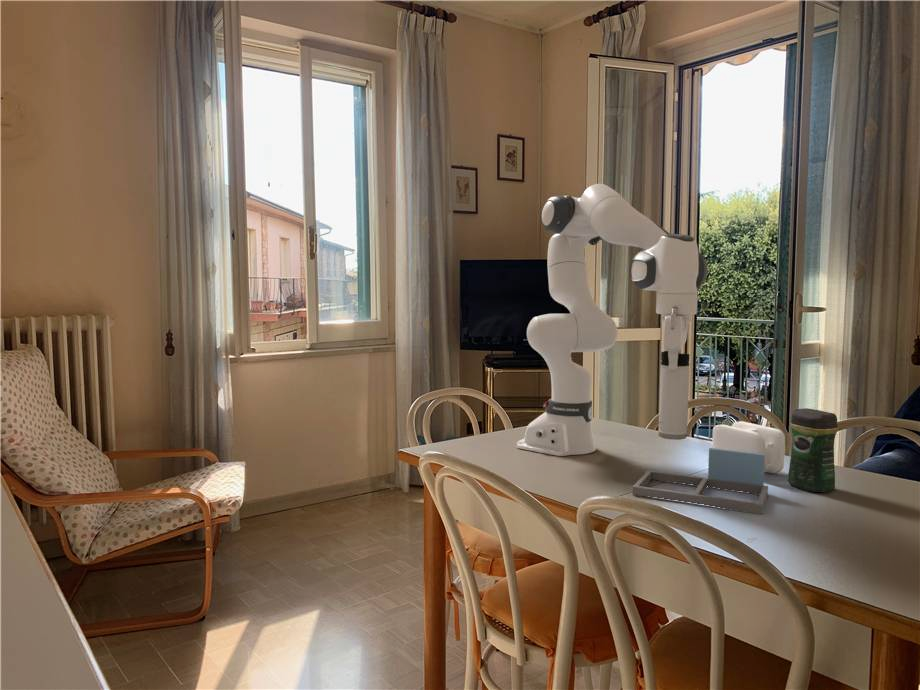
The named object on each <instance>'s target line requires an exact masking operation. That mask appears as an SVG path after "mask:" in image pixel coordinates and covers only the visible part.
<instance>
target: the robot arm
mask: <svg viewBox="0 0 920 690" xmlns="http://www.w3.org/2000/svg"><path fill="white" fill-rule="evenodd" d="M626 200H627V199H625V198H624V197H623V196H622V195H621V194H620V193H619V192H617V190H615V189H614V188H612V187H610V186H608V185H606V184H604V183H595V184H592V185H590V186H588V187H587V188H586V189H585V190H584V192H583V193H582V195H581V197H575V196H572V195H570V194H569V195H568V194H567V195H555V196H551V197H550V198H548V199H547V200H546V201H545V202H544V204H543V206H542V208H541V213H540V219H541V220H540V221H541V225H542V227H543V229H544V230H546V231H547V232H550V233H551V234H553V235H552V236H551V237H550V239H549V241H548V246H547V247H548V248H547V264H546V265H547V278H548V291H549V294H550V297H551V298H552V299H553V301H555V302H557V303H558V304H560V305H562V306H564V307H565V308H567V310H568V311H569V313H547V314H546V313H545V314H541V315H538V316H534V317H532V319H531V320H529V321H530V322H529V323H528V325H527V328H526V338H527V341H528V344H529V346H530V347H531V348H532V349H533V351H536V352H537V353H538V354H539V355H541V357H542V358H543V359H544V361H545V362H546V365H547V367H548V369H549V373H550V380H551V398H549V399H548V400H547V401H545V402H544V403H543V408H544V409H545V412H543V413H542V414H540V415H539V416H537V417H536V418H535V419H534V420H532V421H531V422H529V423H528V425H527V426H526V429H525V432H524V433H525V434H524V438H522V439H520V440H518V441H517V442H516V448H517V449H520V450H525V451H532V452H536V453H541V454H547V455H553V456H557V457H564V456H565V457H566V456H571V455H574V456H575V455H586V454H590V453H593V452H595V451H596V445H595V442H594V436H593V430H592V420H593V401H592V400H591V398H592V396H591V395H592V392H591V391H592V376H591V372H589V370H588V369H587V368H586V367H583V366H582V365H580V364H578V363H576V362H574V361H573V359H572V353H595V352H601V351H605V350H610V349H611V348H612V347H613V346H614V344H615V343H616V341H617V339H618V338H617V337H618V333H619V331H618V326H617V324H616V321H614V320H615V319H613V317H611V316H610V315H609V314H607V313H606V312H604V311H603V309H601V308H600V307H599V305H597V303H596V302H595V300H594V298H593V296H592V294H591V291H590V285H589V281H588V273H587V263H586V257H585V249H586V246H587V244H589V245H590V246H595V245H597V244H598V243H599V242H600V241H602V240H604V241H605V242H607V243H609V244H612V245H618V246H620V245H621V246H629V247H635V248H640V249H644V250H642V251H639V252H638V253H637V254H636V255H634V257H633V258H632V260H631V264H630V269H629V275H630V278H631V281H632V284H634V286H635V287H636V288H637V289H638V290H643V291H652V292H653V291H655V292H656V298H655V299H656V301H655V303H656V304H655V313H656V314H657V315H661V322H663V341H662V342H663V343H662V344H663V345H662V346H663V350H664V351H668V358H669V369H672V370H676V369H677V367H678V353H681V354H682V348H683V347H684V345H685V344H686V343H687V342H686V341H687V337H688V333H689V326H690V322H691V317H692V315H697V314H698V293H699V292H698V289H699V288H700V287H701V286H702V285H703V284H704V283H705V280H706V278H707V276H708V271H709V270H708V269H709V267H708V263H707V261H706V259H705V258H704V256H703V254H701V252H700V251H699V247H698V243H697V239H696V238H694V236H691V235H687V234H679V233H669V231H667V229H665V228H663V227H662V226H661V225H660V224H659V223H656V222H655V221H653V220H652V219H650V218H649V217H647V215H646V216H645V215H644V214H643V213H642V212H640V211H639V210H637V209H635V207H633V206H632V205H631V204H630V203H629V202H628V201H626Z"/></svg>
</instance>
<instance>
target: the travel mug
mask: <svg viewBox="0 0 920 690" xmlns="http://www.w3.org/2000/svg"><path fill="white" fill-rule="evenodd" d="M660 353H661V354H660V360H661V361H660V373H659V374H660V375H659V402H658V404H659V407H658V411H659V412H658V437H660V438H662V439H666V440H672V441H673V440H674V441H675V440H685V439H686V438H687V437H688V419H689V417H688V414H689V413H688V412H689V411H688V409H689V389H690V388H689V385H690V384H689V383H690V378H689V377H690V354H689V353H682V352H681V353H678V367H677V369H676V370H672V369H669V358H668V351H665V350H664V351H661V352H660Z"/></svg>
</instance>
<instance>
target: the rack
mask: <svg viewBox="0 0 920 690" xmlns="http://www.w3.org/2000/svg"><path fill="white" fill-rule="evenodd" d="M764 468H765V454H760V453H751V452H742V451H733V450H724V449H715V448H712V447H710V448H709V449H708V469H707V471H708V474H707V477H704V476H703V477H702V476H695V475H689V474H688V475H686V474H679V473H671V472H664V471H657V470H649V469H648V470H647V471H646V472H645V473H644V474H643V475H642V476H641V477H640V478H639V479H638V480H637V482H635V484H634V485H633V486H632V496H635V495H639V496H638V497H642V496H650V497H657V498H664V499H670V500H678V501H684V502H691V503H697V504H704V505H709V506H715V507H714V508H716V507H720V508H719V509H722V508H725V509H724V510H729V509H732V510H731V511H736V510H738V511H737V512H742V511H745V512H744V513H749V512H750V514H757V515H762V514H763V512H764V508H765V504H766V501H767V499H766V498H768V493H769V485H765V472H764ZM651 479H654V480H653V481H656V480H662V481H661V482H664V481H669V482H668V483H671V482H676V483H675V484H678V483H685V484H693V485H698V486H696V488H695V490H694V491H693V493H690V492H683V491H676V490H670V489H669V490H668V489H661V488H657V487H655V488H654V487H647V485H648V484H649V483H650V482H651V481H652V480H651ZM650 480H651V481H650ZM649 481H650V482H649ZM648 482H649V483H648ZM647 483H648V484H647ZM646 484H647V485H646ZM685 484H684V485H685ZM693 485H692V486H693ZM707 486H708V487H715V488H720V489H719V490H722V489H727V490H726V491H729V490H734V491H733V492H736V491H743V492H742V493H744V492H749V493H748V494H751V493H756V494H755V495H758V494H760V495H759V496H758V497H759V498H758V500H757V502H754V501H748V500H747V501H745V500H739V499H733V498H732V499H731V498H726V497H725V498H724V497H719V496H712V495H704V493H705V492H706V490H707V488H706V487H707ZM715 488H714V489H715ZM705 489H706V490H705ZM704 491H705V492H704ZM703 492H704V493H703ZM702 494H703V495H702ZM709 506H708V507H709Z"/></svg>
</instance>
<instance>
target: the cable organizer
mask: <svg viewBox="0 0 920 690" xmlns="http://www.w3.org/2000/svg"><path fill="white" fill-rule="evenodd" d="M785 441H786V435H785V433H784V432H783V431H782V430H781V429H778V428H775V427H770V426H765V425H761V424H756V423H751V422H747V421H742V420H741V421H735V422H734V423H732V425H731V426H730V425H726V424H717V425H715V426H713V428H712V445H711V446H712V447H711V448H715V449H724V450H733V451H742V452H751V453H760V454H765V468H764V471H766V472H765V473H767V472H769V473H768V474H771V473H773V474H775V473H778V472H781V471H782V470H784V466H785V448H786V447H785V445H786V442H785Z"/></svg>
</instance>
